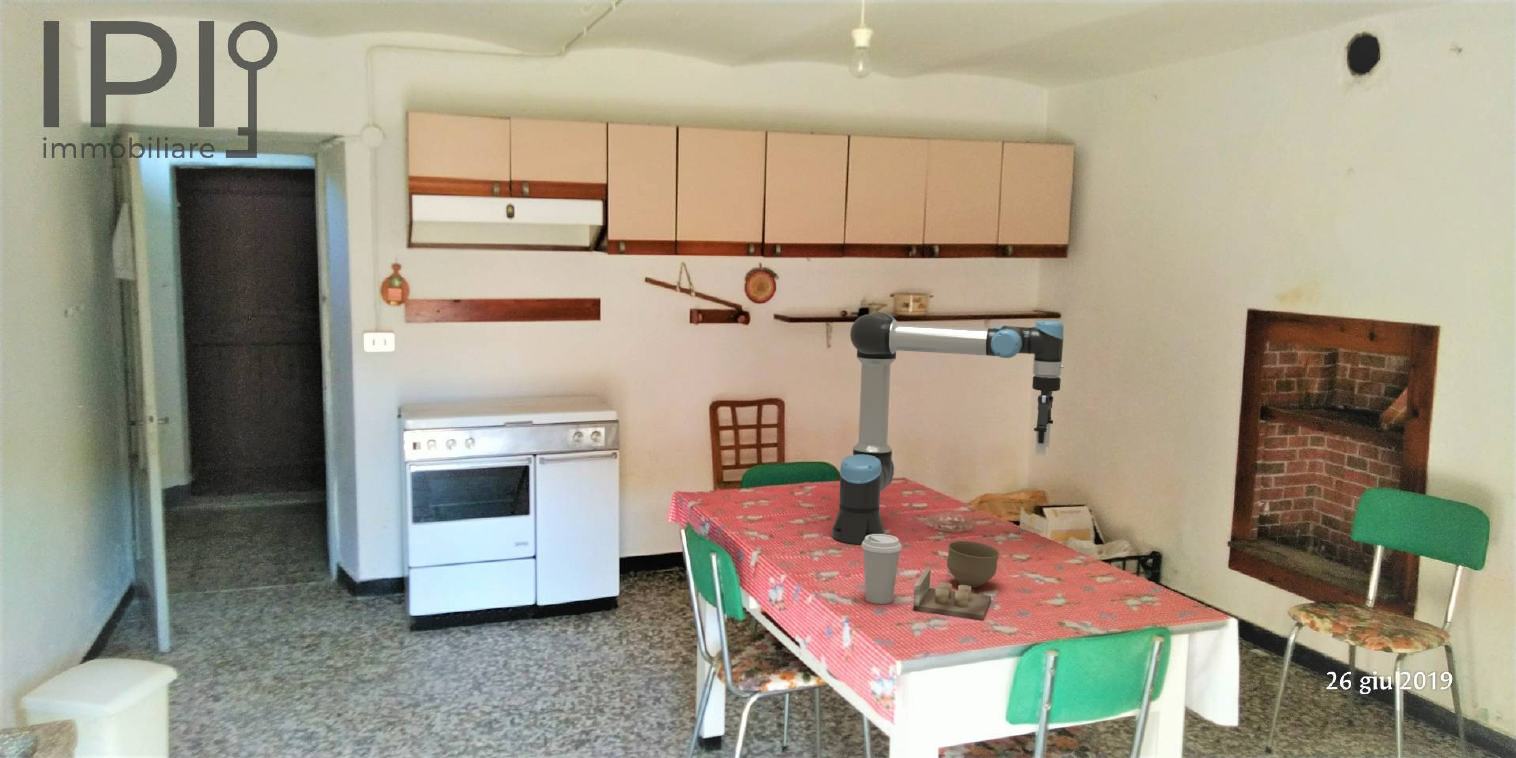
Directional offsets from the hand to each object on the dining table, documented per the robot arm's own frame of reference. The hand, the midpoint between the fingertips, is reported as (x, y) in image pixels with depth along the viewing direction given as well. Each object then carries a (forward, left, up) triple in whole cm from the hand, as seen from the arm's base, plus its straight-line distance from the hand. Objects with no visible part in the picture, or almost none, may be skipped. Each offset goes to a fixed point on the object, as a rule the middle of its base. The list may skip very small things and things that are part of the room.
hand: (1042, 450), depth 287 cm
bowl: (-12, -43, -28) cm, 53 cm away
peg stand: (-14, -60, -28) cm, 68 cm away
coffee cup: (-31, -63, -28) cm, 76 cm away
